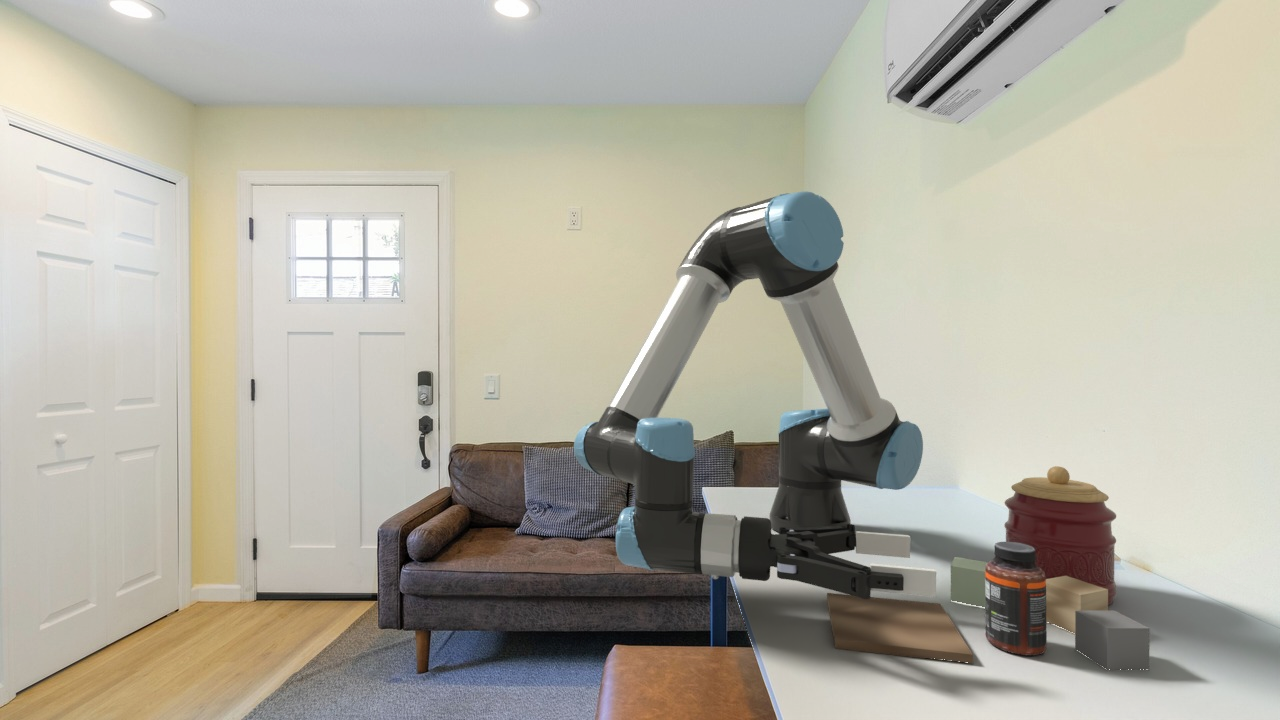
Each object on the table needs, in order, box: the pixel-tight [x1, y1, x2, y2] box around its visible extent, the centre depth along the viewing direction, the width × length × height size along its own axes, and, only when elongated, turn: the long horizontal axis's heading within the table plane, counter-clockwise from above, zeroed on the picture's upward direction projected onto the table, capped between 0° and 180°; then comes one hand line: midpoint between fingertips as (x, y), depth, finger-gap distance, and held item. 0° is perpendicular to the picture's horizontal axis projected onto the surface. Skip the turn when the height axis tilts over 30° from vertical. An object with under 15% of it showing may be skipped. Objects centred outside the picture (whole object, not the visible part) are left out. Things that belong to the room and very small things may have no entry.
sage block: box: [950, 556, 989, 607], centre depth 81 cm, size 4×4×5 cm
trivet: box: [826, 592, 974, 664], centre depth 72 cm, size 14×14×1 cm
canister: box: [1004, 466, 1117, 606], centre depth 85 cm, size 13×13×18 cm
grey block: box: [1074, 610, 1150, 671], centre depth 65 cm, size 4×4×4 cm
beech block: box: [1046, 576, 1109, 634], centre depth 74 cm, size 5×5×5 cm
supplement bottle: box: [984, 541, 1048, 656], centre depth 68 cm, size 6×6×11 cm
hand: (921, 563), depth 71 cm, fingers open, 13 cm apart
